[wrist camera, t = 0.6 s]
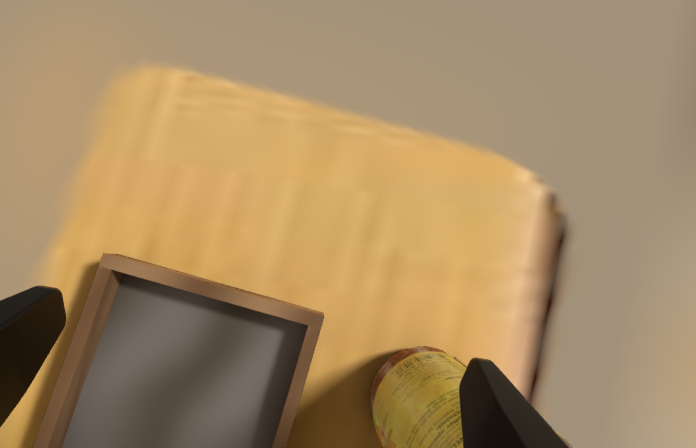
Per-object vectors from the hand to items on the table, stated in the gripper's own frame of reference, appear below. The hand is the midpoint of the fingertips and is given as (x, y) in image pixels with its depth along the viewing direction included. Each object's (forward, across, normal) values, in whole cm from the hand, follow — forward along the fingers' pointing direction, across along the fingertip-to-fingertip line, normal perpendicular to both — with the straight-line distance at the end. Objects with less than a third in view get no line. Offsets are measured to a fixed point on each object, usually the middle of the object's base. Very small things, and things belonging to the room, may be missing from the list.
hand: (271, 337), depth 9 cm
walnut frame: (+9, +5, +14) cm, 18 cm away
